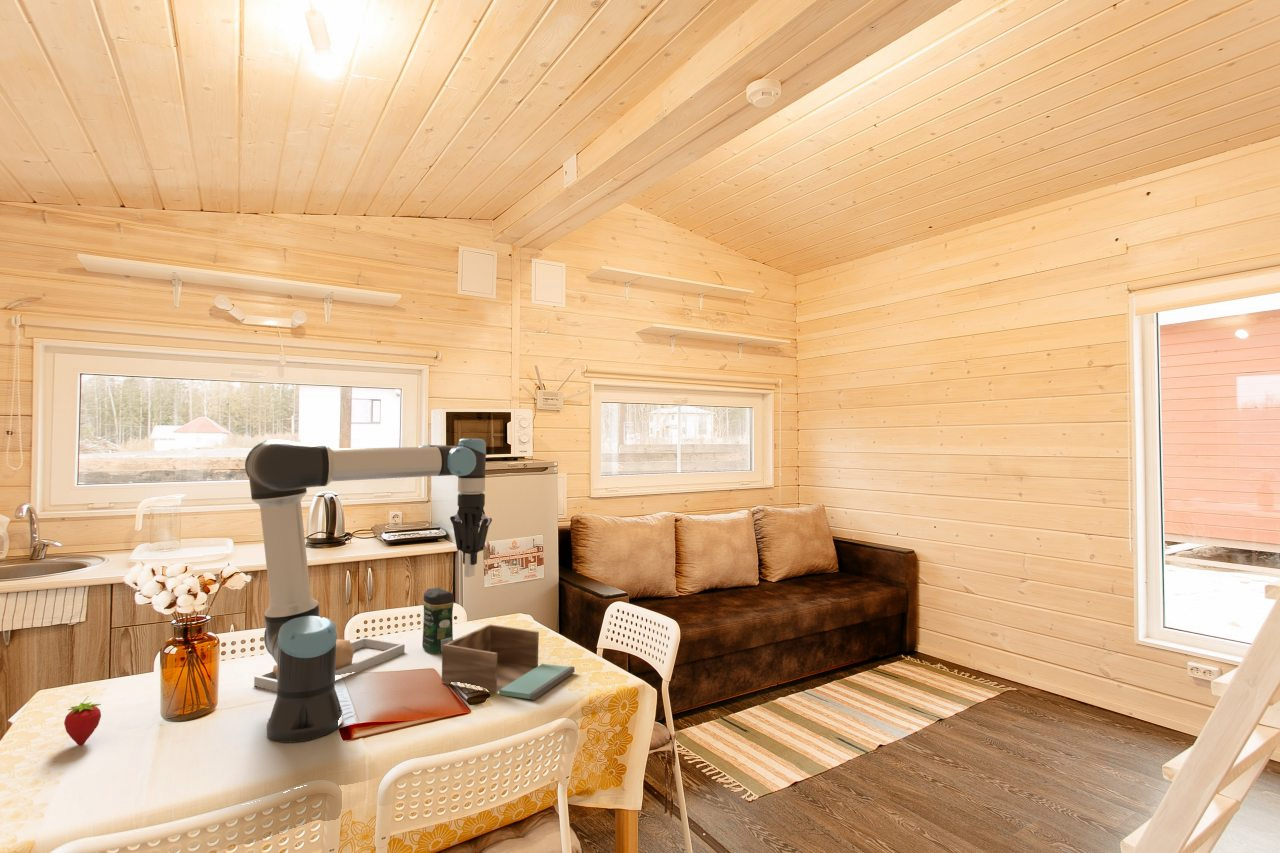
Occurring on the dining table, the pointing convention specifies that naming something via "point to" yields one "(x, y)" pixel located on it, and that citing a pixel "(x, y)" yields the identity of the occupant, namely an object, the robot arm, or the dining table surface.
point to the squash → (337, 655)
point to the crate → (490, 657)
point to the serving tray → (391, 651)
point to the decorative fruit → (82, 721)
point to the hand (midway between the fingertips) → (469, 575)
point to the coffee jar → (437, 619)
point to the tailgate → (537, 681)
